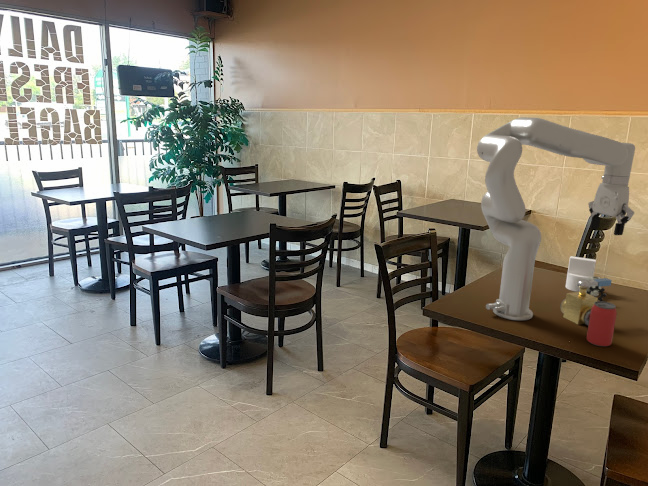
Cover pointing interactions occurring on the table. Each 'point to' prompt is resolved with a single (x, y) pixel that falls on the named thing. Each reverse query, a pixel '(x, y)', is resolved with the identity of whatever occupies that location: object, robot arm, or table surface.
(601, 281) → the lever
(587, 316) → the pipe valve
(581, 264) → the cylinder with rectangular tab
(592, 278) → the valve
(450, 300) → the table surface
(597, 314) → the beer can
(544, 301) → the table surface
